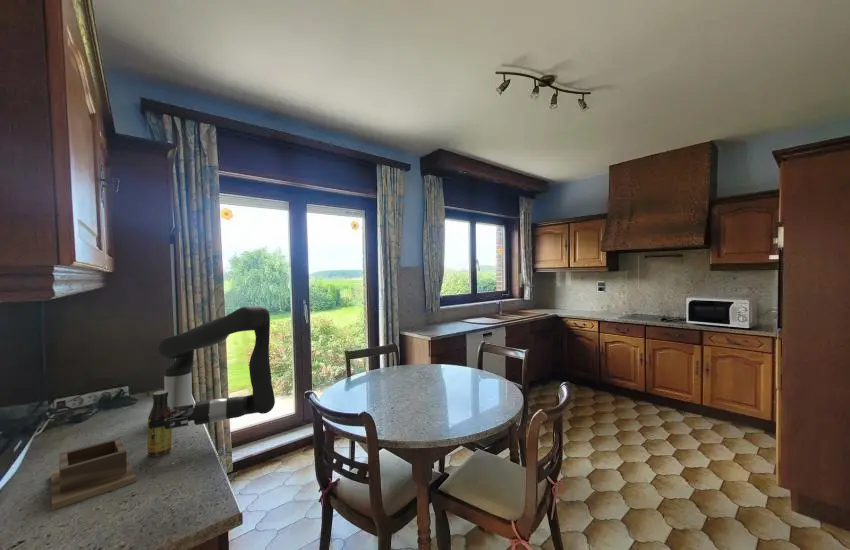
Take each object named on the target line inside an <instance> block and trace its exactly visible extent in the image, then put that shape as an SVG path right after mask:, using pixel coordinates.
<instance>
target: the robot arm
mask: <svg viewBox="0 0 850 550" xmlns="http://www.w3.org/2000/svg"><path fill="white" fill-rule="evenodd" d="M269 312H270V311H268V308H267V307H264V306H261V305H260V306H259V305H247V306H246V305H245V306H241V307H240V308H237V309H236V310H234V311H232V312H231V313H229V314H227V315H225V316H222V317H218V318H215V319H213V320H210V321H207V322H205V323H203V324H200V325H197V326H195V327H193V328H191V329H189V330H187V331H185V332H182V333H180V334H177V335H176V334H175V335H172V336H166V337H165V338H163V339H162V340H161V341H160V343H159V344H158V347H157V352H158V355H159V356H160V357H161V358H163V359H165V360H174V359H175V360H174V361H173V363H171V364H170V365H168V366H167V367H165V368H164V374H163V375H164V381H163V382H164V390H166V391H168V397H167V402H168V404H167V405H168V406H169V407H170V409H171V411H172V416H171V417H169V418H165V419H159V420H153V421H150V422H149V428H150V429H152V428H158V427H163V426H164V427H165V429H170V428H172V429H175V428H181V427H186V426H188V425H189V422H191V421H193V422H194V425H195V426H199V425H206V424H211V423H216V422H217V423H218V422H221V421H225V420H229V419H236V418H240V417H243V416H245V415H252V414H261V415H264V414H268V413H270V412H271V411H272V410H273V409H274V407H275V403H276V398H275V394H274V387H273V383H272V371H271V363H270V362H271V361H270V333H271V332H270V329H271V328H270V327H271V318H270V316H271V315H270V313H269ZM249 331H254V335H255V336H254V337H255V341H254V348H253V350H252V353H251V354H250V355H251V356H250V357H249V358H250V359H249V362H248V363H249V364H248V371H249V378H250V384H251V388H252V389H251V390H252V394H248V395H243V396H242V395H241V396H232V397H227V398H226V397H224V398H215V399H207V400H200V401H196V402H195V403H194V404H192V403H193V401H192V397H193V395H192V394H193V393H192V385H193V384H192V375H193V374H192V369H193V366H194V359H195V358H194V357H195V356H194V355H195V350H198V349H203V348H208V347H211V346H214V345H217V344H220V343H222V342H224V341H225V340H226V339H227V338H228V337H229V336H230V335H231V334H235V333H239V332H249ZM170 422H171V423H170Z"/></svg>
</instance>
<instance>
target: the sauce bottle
mask: <svg viewBox="0 0 850 550" xmlns="http://www.w3.org/2000/svg"><path fill="white" fill-rule="evenodd" d="M167 397H168V391H166V390H165V389H163V390H157V391H155V392H152V399H153V400H152V402H153V404H152V408H151V410H150V412H149V416H148V419H147V453H148V456H149V457H153V458H155V457H160V456H163V455H166V454H168V453H170V452H171V449H172V443H173V441H172V440H173V428H170V429H165V427H164V426H163V427H158V428H152V429H150V428H149V422H150V421H153V420H159V419H165V418H169V417H171V416H172V411H171V409H170V407H169V406H168V405H167V404H168V402H167ZM170 423H171V422H170Z"/></svg>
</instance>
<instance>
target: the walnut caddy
mask: <svg viewBox="0 0 850 550" xmlns="http://www.w3.org/2000/svg"><path fill="white" fill-rule="evenodd" d="M58 460H59V461H58V462H59V463H58V464H59V466H58V467H59V468H58V469H55V470H51V511H54V510H56V509H60V508H62V507H66V506H69V505H72V504H74V503H78V502H81V501H84V500H87V499H89V497H90V498H92V496H93V497H96V496H98V495H101V494H105V493H107V492H110V491H114V490H115V489H118V488H121V487H125V486H128V485H131V484H133V482H134V483H136V482H137V475H136V474H135V471H134V469H133V466H132V464H131V462H130V460H129V457H128V455H127V450H126V448H125V445H124V443H123V441H122V438H121V437H118V438H114V439H110V440H106V441H102V442H99V443H95V444H94V443H93V444H90V445H87V446H84V447H79V448H75V449H71V450H67V451H63V452H60V453H59V458H58ZM86 498H87V499H86ZM83 499H84V500H83Z"/></svg>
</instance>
